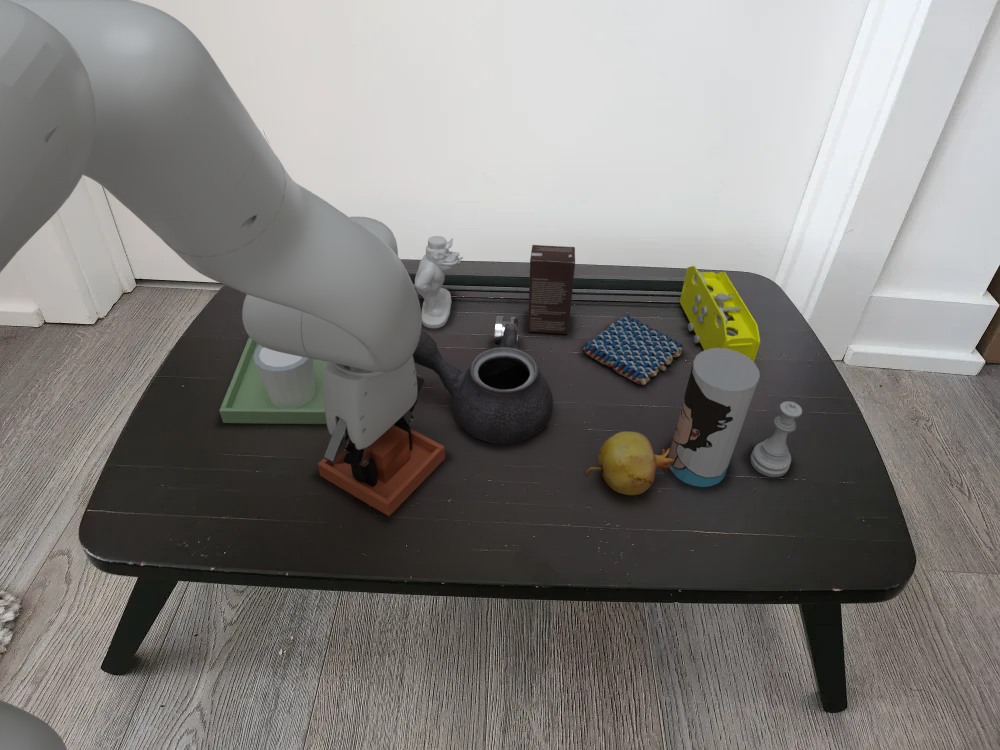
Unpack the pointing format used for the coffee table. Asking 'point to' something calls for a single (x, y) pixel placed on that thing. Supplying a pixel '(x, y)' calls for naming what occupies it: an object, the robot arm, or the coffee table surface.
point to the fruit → (629, 463)
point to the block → (390, 453)
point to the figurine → (435, 281)
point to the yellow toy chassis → (718, 313)
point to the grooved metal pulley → (502, 329)
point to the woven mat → (633, 349)
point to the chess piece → (776, 444)
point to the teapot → (494, 390)
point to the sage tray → (267, 396)
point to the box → (550, 288)
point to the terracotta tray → (399, 486)
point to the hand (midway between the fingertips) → (383, 461)
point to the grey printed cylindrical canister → (712, 415)
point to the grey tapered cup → (286, 377)
